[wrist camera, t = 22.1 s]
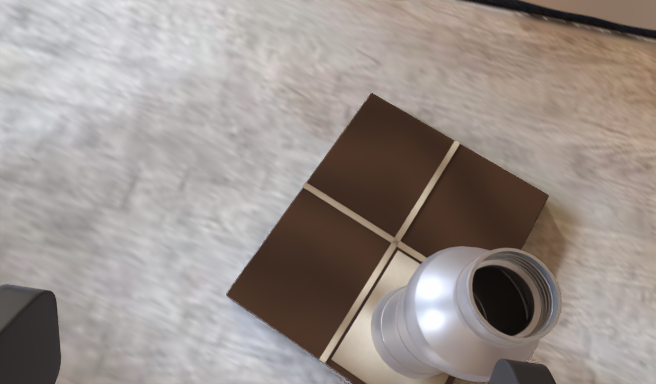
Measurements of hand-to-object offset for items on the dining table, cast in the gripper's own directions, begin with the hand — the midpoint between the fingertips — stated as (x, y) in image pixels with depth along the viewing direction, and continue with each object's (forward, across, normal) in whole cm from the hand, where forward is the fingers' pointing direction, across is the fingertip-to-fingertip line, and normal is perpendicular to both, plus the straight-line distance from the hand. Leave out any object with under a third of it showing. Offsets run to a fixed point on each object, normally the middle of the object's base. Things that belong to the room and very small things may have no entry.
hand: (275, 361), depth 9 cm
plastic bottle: (+24, +9, -17) cm, 31 cm away
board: (+29, +7, -13) cm, 33 cm away
